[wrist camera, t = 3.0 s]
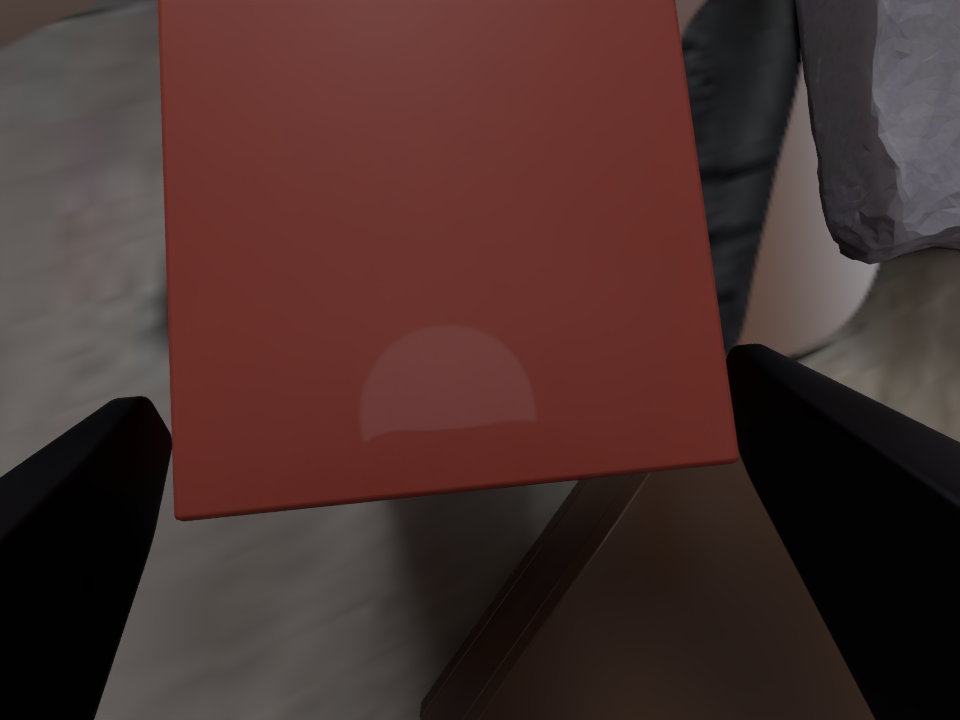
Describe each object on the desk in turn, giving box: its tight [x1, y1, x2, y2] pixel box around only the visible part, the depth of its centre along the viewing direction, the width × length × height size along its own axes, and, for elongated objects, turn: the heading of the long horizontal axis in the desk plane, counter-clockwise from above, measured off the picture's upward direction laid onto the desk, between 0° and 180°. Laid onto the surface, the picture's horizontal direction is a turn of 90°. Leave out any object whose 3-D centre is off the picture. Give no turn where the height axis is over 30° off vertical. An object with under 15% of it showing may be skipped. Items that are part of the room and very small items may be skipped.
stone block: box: [795, 0, 960, 264], centre depth 18 cm, size 12×5×10 cm
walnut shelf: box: [420, 454, 875, 720], centre depth 14 cm, size 13×12×4 cm
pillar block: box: [158, 0, 739, 521], centre depth 11 cm, size 5×5×12 cm
